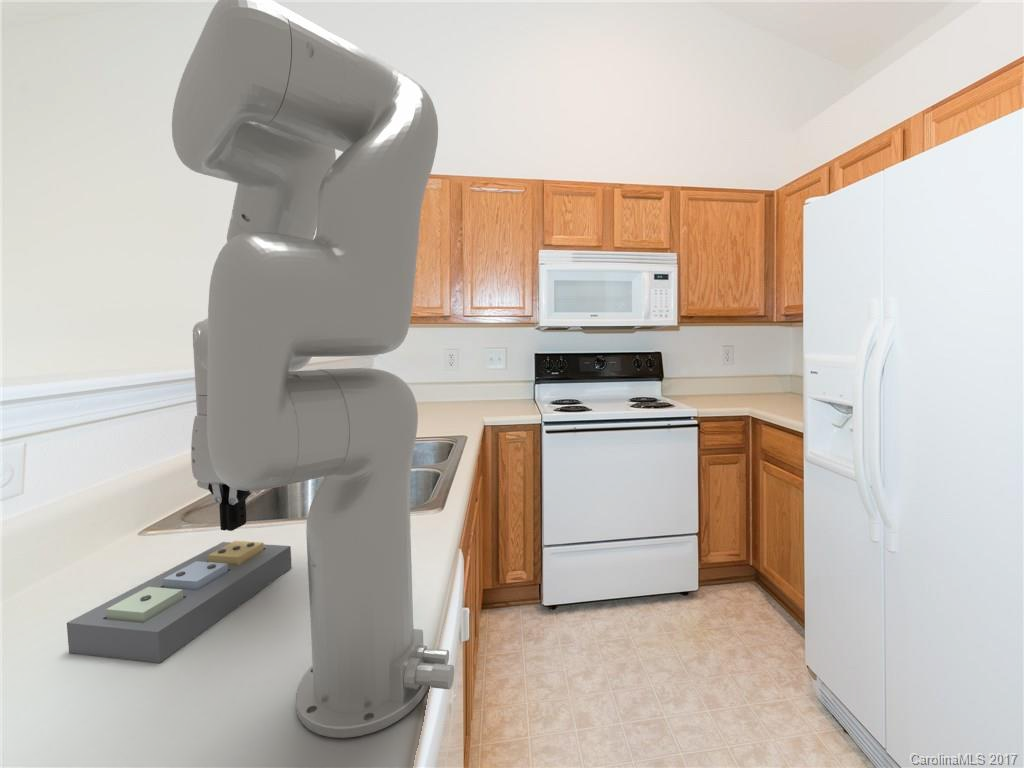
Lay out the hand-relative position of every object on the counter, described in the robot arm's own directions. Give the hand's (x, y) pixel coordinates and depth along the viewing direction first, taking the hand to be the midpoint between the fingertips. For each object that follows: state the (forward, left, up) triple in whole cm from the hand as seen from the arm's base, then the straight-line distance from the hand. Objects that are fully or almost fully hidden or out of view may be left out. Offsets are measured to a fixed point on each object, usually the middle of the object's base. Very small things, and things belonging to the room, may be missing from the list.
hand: (233, 526), depth 67 cm
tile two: (-1, +7, -5) cm, 9 cm away
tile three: (-1, 0, -5) cm, 5 cm away
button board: (-1, +7, -8) cm, 11 cm away
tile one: (-1, +14, -5) cm, 15 cm away
